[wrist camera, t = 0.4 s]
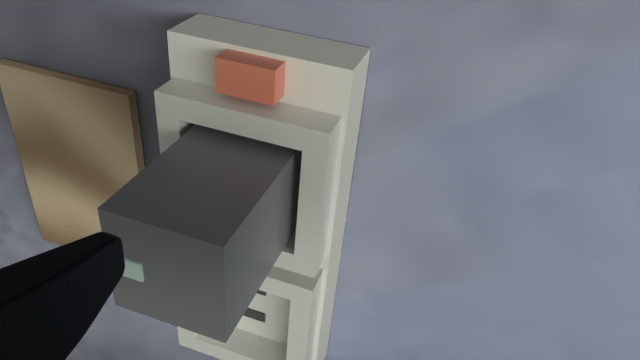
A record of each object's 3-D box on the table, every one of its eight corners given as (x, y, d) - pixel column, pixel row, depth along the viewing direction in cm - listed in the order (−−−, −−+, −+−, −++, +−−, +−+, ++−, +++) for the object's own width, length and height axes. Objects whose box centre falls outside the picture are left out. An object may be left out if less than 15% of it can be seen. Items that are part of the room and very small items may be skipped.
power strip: (326, 353, 32) (303, 411, 29) (212, 314, 34) (178, 364, 30) (370, 48, 21) (341, 86, 18) (199, 13, 23) (144, 42, 20)
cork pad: (157, 268, 33) (151, 275, 33) (49, 233, 35) (42, 239, 34) (135, 91, 26) (128, 96, 26) (3, 58, 28) (-7, 62, 27)
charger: (298, 224, 24) (224, 345, 18) (210, 199, 25) (114, 306, 19) (305, 139, 21) (222, 249, 16) (206, 114, 22) (95, 210, 17)
